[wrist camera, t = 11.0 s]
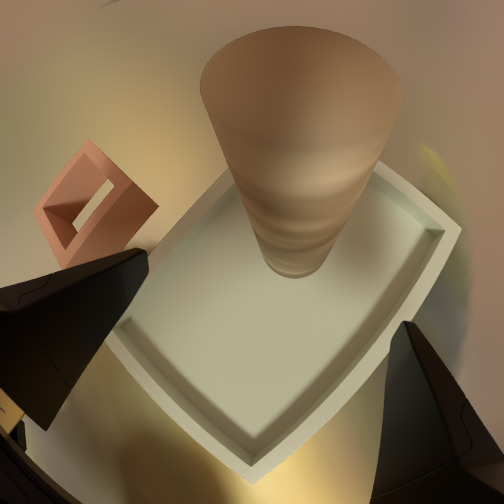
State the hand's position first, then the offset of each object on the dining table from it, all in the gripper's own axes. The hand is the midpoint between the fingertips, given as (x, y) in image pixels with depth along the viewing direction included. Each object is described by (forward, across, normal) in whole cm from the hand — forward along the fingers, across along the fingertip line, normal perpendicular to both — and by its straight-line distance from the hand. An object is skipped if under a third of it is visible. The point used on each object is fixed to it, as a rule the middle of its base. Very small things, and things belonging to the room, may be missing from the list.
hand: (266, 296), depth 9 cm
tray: (+7, 0, +5) cm, 8 cm away
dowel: (+8, 0, +2) cm, 8 cm away
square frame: (+8, +15, +4) cm, 18 cm away
